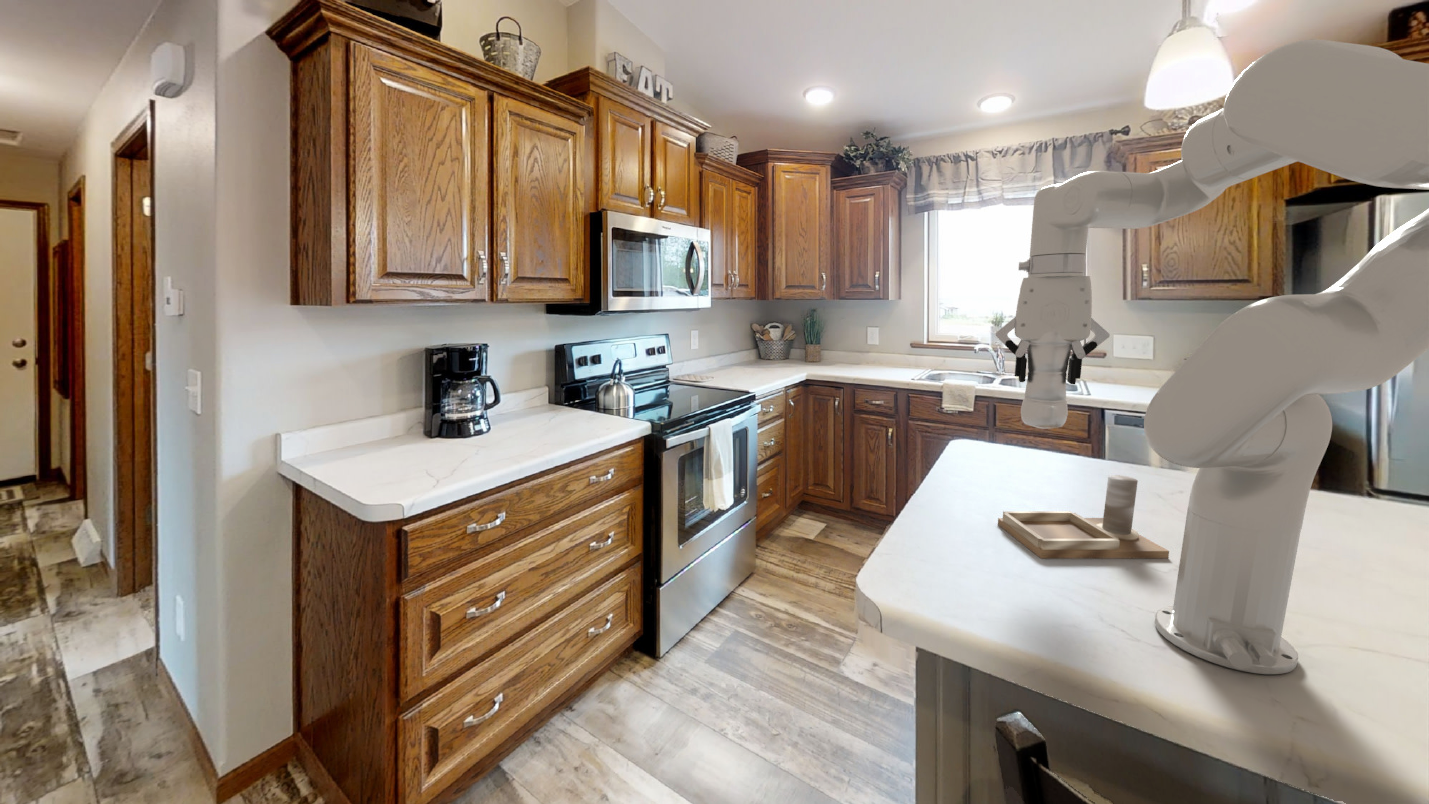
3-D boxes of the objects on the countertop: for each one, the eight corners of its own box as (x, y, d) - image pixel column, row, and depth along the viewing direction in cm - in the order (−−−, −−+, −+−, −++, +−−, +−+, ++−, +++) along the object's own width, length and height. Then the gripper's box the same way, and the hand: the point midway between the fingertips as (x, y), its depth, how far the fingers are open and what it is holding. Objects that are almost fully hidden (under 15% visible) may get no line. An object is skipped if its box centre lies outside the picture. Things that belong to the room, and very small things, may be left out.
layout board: (1041, 558, 90) (1047, 492, 88) (997, 524, 103) (1002, 467, 101) (1168, 558, 89) (1177, 492, 88) (1107, 524, 103) (1114, 466, 101)
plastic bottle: (1073, 432, 89) (1086, 303, 86) (1027, 431, 90) (1038, 303, 87) (1056, 424, 95) (1067, 303, 92) (1013, 423, 96) (1022, 304, 93)
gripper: (995, 268, 89) (987, 382, 92) (1128, 264, 82) (1115, 387, 85) (993, 271, 96) (986, 377, 98) (1116, 267, 89) (1104, 382, 92)
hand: (1046, 381), depth 92 cm, fingers closed on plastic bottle, 6 cm apart
